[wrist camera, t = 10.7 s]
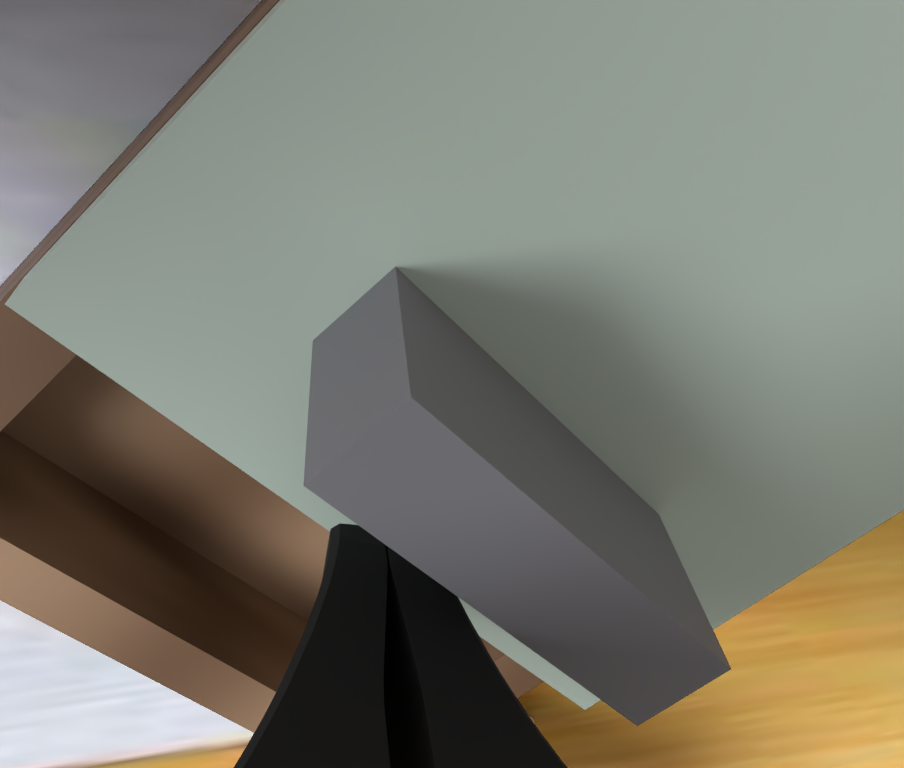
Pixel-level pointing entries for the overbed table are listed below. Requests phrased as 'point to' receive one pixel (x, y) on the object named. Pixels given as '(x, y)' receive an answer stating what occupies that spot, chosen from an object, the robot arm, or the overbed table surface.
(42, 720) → the overbed table surface
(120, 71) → the overbed table surface
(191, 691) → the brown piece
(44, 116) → the overbed table surface
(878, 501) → the lid
